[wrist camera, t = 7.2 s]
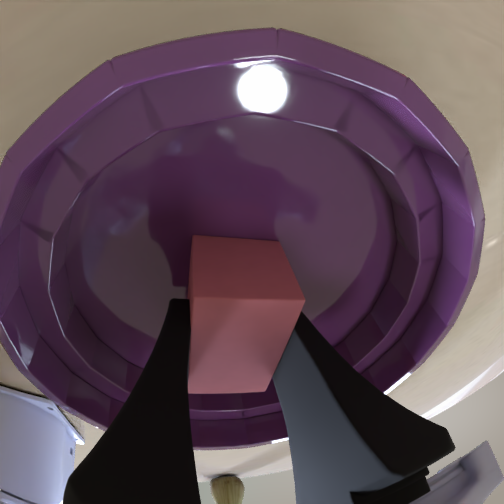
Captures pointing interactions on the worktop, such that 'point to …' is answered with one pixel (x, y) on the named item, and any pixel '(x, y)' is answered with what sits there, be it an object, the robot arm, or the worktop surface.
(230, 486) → the fennel bulb
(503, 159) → the worktop surface
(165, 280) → the bowl
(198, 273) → the eraser
